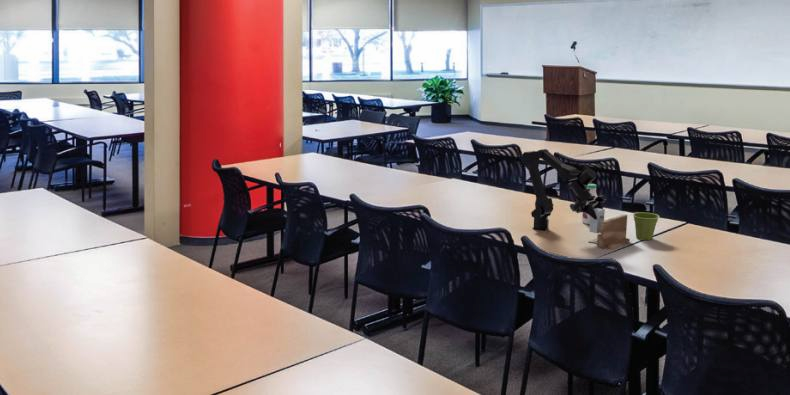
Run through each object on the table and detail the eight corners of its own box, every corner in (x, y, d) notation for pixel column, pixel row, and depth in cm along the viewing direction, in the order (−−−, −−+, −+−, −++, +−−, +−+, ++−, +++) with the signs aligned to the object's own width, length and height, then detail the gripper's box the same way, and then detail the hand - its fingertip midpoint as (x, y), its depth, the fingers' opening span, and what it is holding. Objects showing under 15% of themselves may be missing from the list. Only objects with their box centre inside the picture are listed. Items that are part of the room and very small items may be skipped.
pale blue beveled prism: (589, 231, 333) (590, 209, 331) (596, 230, 336) (597, 208, 334) (598, 233, 329) (599, 211, 327) (605, 232, 332) (606, 209, 330)
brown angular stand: (583, 244, 331) (584, 218, 329) (605, 235, 345) (606, 211, 343) (609, 249, 322) (611, 223, 320) (631, 241, 336) (633, 216, 333)
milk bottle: (598, 221, 373) (600, 183, 368) (597, 225, 365) (599, 186, 361) (582, 220, 375) (584, 182, 371) (581, 223, 368) (583, 185, 364)
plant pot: (630, 240, 337) (631, 217, 335) (632, 234, 348) (633, 211, 346) (657, 242, 333) (659, 219, 331) (658, 236, 344) (659, 213, 341)
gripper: (582, 198, 348) (601, 224, 342) (558, 203, 336) (576, 231, 330) (597, 184, 340) (616, 211, 334) (572, 189, 329) (591, 217, 323)
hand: (599, 218), depth 331 cm, fingers closed on pale blue beveled prism, 5 cm apart
